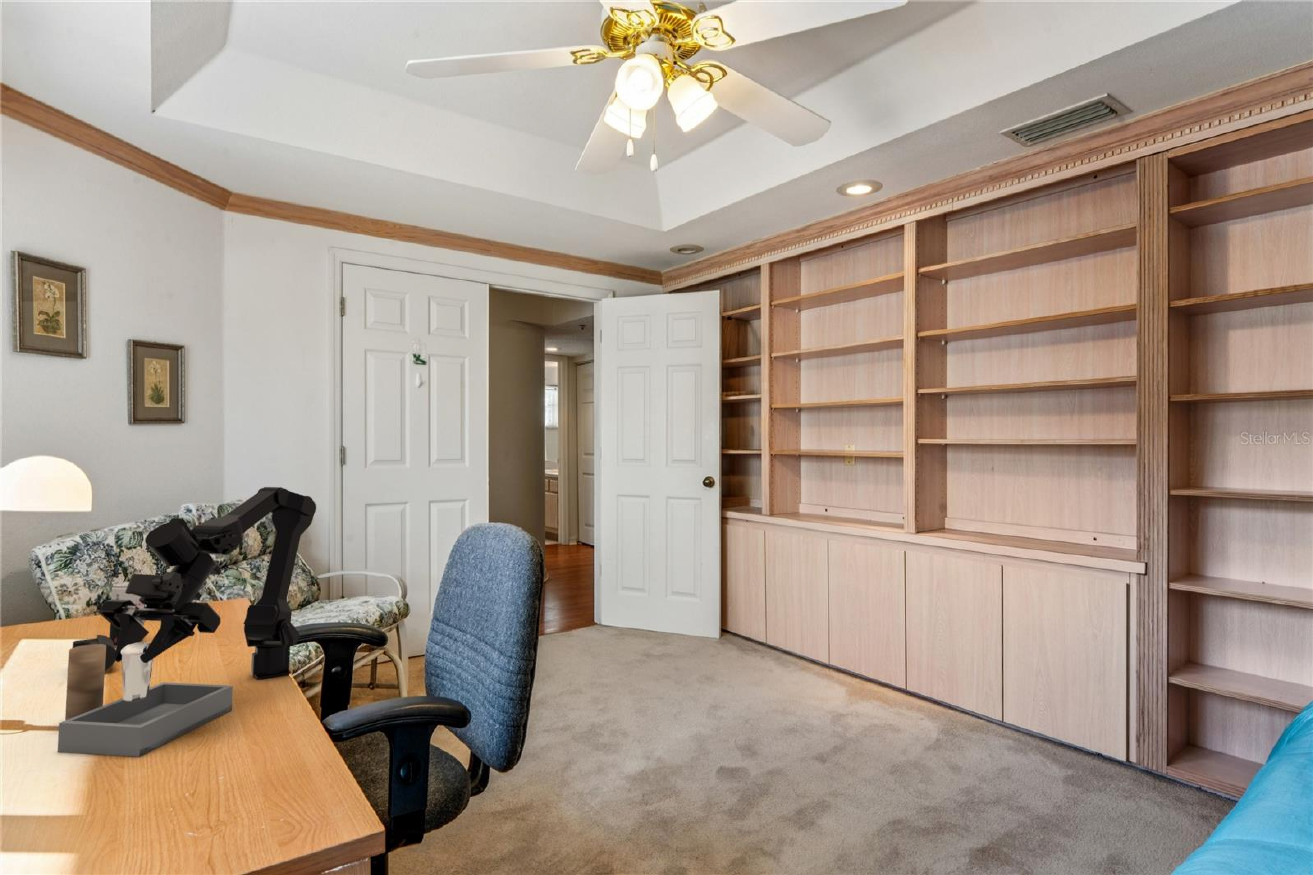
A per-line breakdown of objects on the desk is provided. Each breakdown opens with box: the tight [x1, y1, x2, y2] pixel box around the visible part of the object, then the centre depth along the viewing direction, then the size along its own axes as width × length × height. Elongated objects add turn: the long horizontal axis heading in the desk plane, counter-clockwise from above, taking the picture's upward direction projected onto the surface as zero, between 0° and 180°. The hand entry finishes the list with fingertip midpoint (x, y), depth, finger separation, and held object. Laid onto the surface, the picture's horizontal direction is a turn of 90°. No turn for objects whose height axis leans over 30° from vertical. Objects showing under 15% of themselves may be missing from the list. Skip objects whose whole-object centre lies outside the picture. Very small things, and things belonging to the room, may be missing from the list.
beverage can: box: [108, 581, 145, 648], centre depth 167 cm, size 7×6×15 cm
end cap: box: [72, 634, 116, 672], centre depth 146 cm, size 10×7×7 cm
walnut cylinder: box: [64, 644, 106, 721], centre depth 117 cm, size 5×5×13 cm
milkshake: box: [120, 641, 155, 702], centre depth 111 cm, size 4×5×10 cm
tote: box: [57, 681, 234, 758], centre depth 115 cm, size 20×14×4 cm
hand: (129, 661), depth 110 cm, fingers closed on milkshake, 4 cm apart
